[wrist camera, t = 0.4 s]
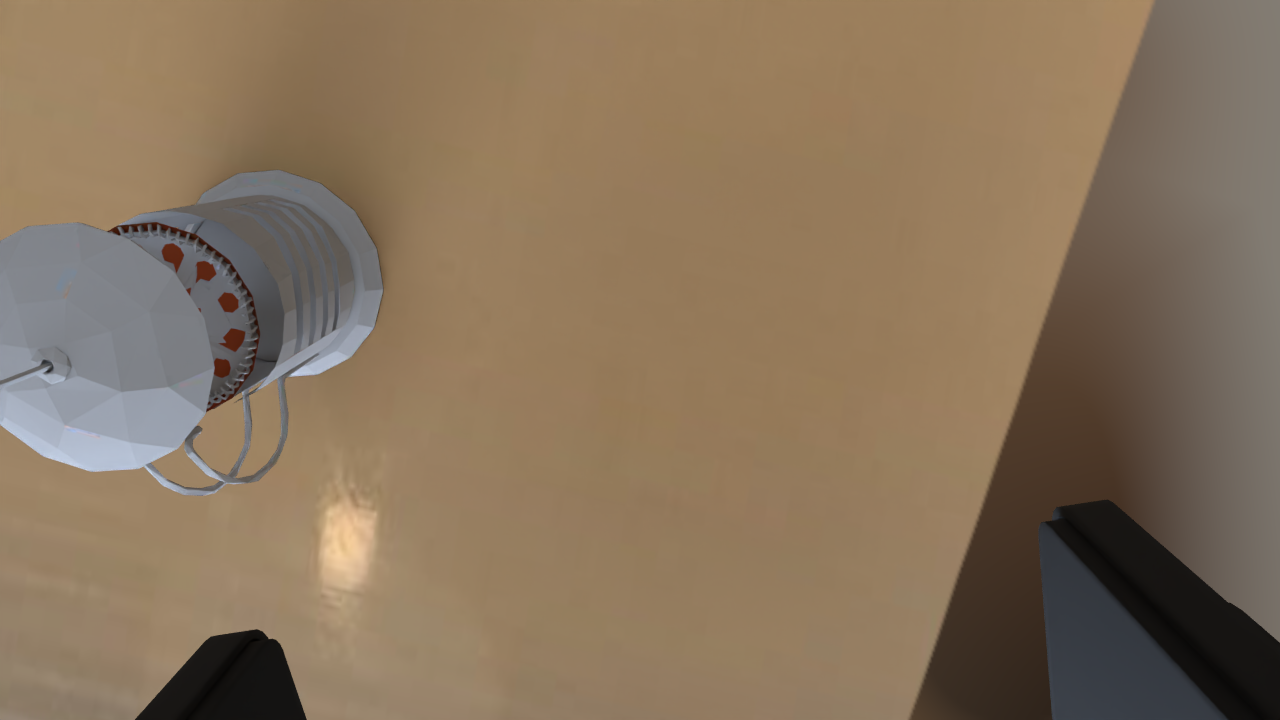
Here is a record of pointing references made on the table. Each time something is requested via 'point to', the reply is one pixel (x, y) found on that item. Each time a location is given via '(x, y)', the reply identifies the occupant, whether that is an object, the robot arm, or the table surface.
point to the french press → (178, 319)
